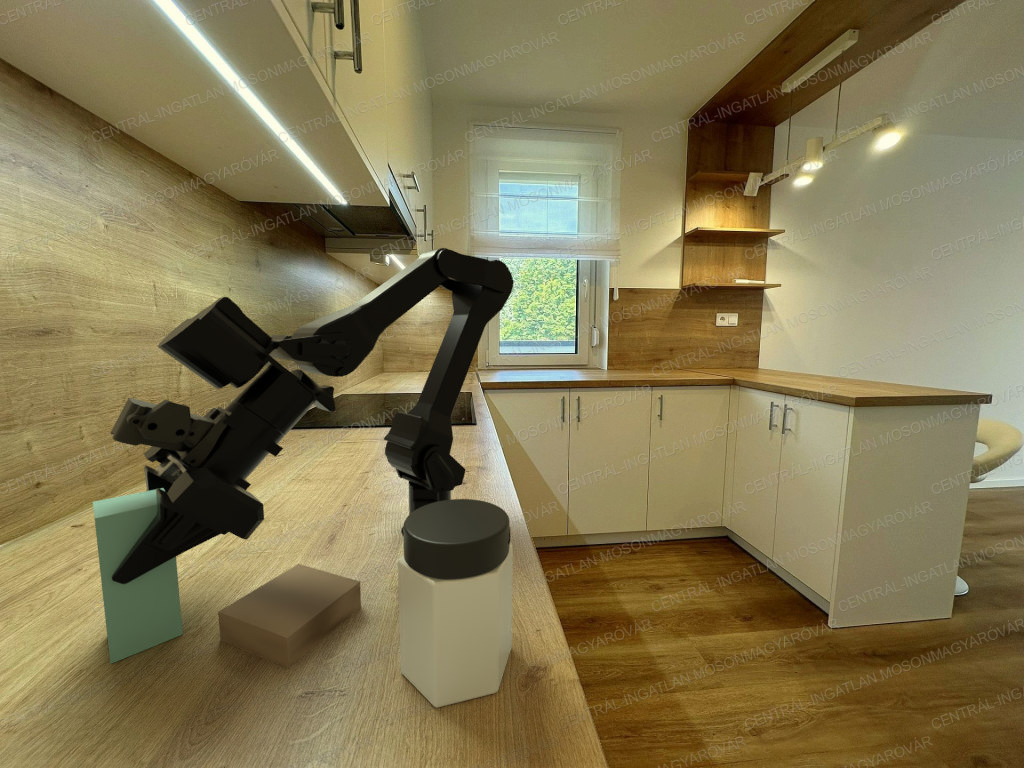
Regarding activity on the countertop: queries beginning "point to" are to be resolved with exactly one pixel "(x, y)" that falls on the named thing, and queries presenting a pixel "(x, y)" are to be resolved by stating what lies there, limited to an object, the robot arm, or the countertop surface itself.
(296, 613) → the walnut block
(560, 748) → the countertop surface
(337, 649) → the countertop surface
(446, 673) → the jar
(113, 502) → the teal block
